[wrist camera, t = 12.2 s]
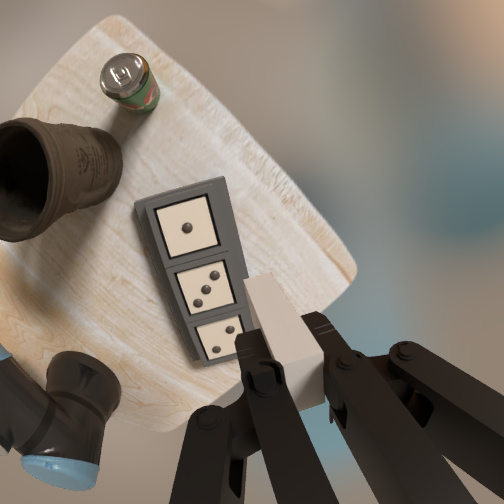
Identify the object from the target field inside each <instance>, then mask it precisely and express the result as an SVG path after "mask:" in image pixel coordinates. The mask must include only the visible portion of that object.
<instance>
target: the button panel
mask: <svg viewBox="0 0 504 504" xmlns="http://www.w3.org/2000/svg"><path fill="white" fill-rule="evenodd" d="M200 195H205V198H206V202H207V206H208V210H209V214H210V217H211V221H212V225H213V229H214V232H215V236H216V240H217V244H216V245H212V246H209V247H205V248H202V249H198V250H194V251H191V252H187V253H184V254H180V255H177V256H173V257H171V255H170V252H169V249H168V246H167V243H166V240H165V237H164V234H163V230H162V227H161V224H160V221H159V217H158V214H157V210H158V208H159V207H162V206H165V205H168V204H172V203H175V202H179V201H182V200H186V199H189V198H193V197H196V196H200ZM134 205H135V208H136V211H137V215H138V218H139V221H140V224H141V228H142V231H143V234H144V237H145V240H146V243H147V246H148V249H149V252H150V255H151V258H152V260H153V263H154V266H155V269H156V272H157V274H158V277H159V280H160V282H161V285H162V288H163V290H164V293H165V296H166V298H167V301H168V303H169V306H170V308H171V311H172V313H173V316H174V318H175V320H176V323H177V325H178V328H179V330H180V332H181V335H182V337H183V339H184V342H185V344H186V346H187V348H188V351H189V353H190V355H191V357H192V359H193V361H195V360H199V359H201V361H202V363H203V365H204V367H206V366H210V365H214V364H218V363H222V362H225V361H229V360H233V359H236V358H238V357H237V353H233V354H229V355H225V356H222V357H218V358H214V359H210V360H209V358H208V355H207V353H206V350H205V348H204V345H203V343H202V340H201V338H200V335H199V333H198V330H197V326H200V325H203V324H207V323H211V322H214V321H218V320H222V319H225V318H229V317H232V316H236V315H238V318H239V321H240V325H241V328H242V332H243V333H244V332H247V331H251V330H255V327H254V325H253V321H252V317H251V312H250V308H249V303H248V299H247V295H246V290H245V286H244V281H243V279H247V278H249V276H248V271H247V267H246V263H245V259H244V255H243V251H242V247H241V243H240V239H239V235H238V230H237V226H236V222H235V218H234V214H233V210H232V206H231V201H230V197H229V193H228V189H227V185H226V180H225V177H224V176H221V177H217V178H213V179H209V180H205V181H202V182H198V183H194V184H191V185H187V186H183V187H180V188H176V189H173V190H170V191H166V192H163V193H160V194H156V195H153V196H150V197H147V198H143V199H140V200H137V201H136V202H134ZM218 260H222V262H223V266H224V269H225V273H226V276H227V280H228V283H229V287H230V290H231V294H232V297H233V301H234V303H230V304H227V305H223V306H220V307H216V308H212V309H209V310H205V311H201V312H198V313H194V314H191V312H190V309H189V307H188V304H187V301H186V299H185V296H184V293H183V290H182V288H181V285H180V282H179V279H178V276H177V272H179V271H182V270H186V269H189V268H193V267H196V266H200V265H204V264H207V263H211V262H214V261H218Z"/></svg>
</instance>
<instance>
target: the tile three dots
mask: <svg viewBox="0 0 504 504" xmlns="http://www.w3.org/2000/svg"><path fill="white" fill-rule="evenodd" d="M177 276H178V279H179V282H180V285H181V288H182V290H183V293H184V296H185V299H186V301H187V304H188V307H189V309H190V312H191V314H194V313H198V312H201V311H205V310H209V309H212V308H216V307H220V306H223V305H227V304H230V303H234V301H233V297H232V294H231V290H230V287H229V283H228V280H227V276H226V273H225V269H224V266H223V262H222V260H218V261H214V262H211V263H207V264H204V265H200V266H196V267H193V268H189V269H186V270H182V271H179V272H177Z"/></svg>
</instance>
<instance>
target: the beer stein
mask: <svg viewBox="0 0 504 504" xmlns="http://www.w3.org/2000/svg"><path fill="white" fill-rule="evenodd" d="M122 168H123V160H122V154H121V150H120V148H119V146H118V144H117V142H116V141H115V139H114V138H113V137H112V136H111V135H110V134H109V133H107V132H105V131H103V130H101V129H98V128H91V127H81V126H77V125H73V124H62V123H61V124H50V123H45V122H42V121H39V120H37V119H33V118H17V119H14V120H9V121H7V122H4V123H1V124H0V240H3V241H7V242H13V243H14V242H20V241H24V240H27V239H31V238H34V237H36V236H38V235H40V234H41V233H43V232H44V231H45V230H46V229H47V228H48V227H49V226H50V225H51V224H52V223H54V222H55V221H56V220H57V219H59V218H60V217H61V216H63V215H64V214H66V213H70V212H74V211H75V210H77V209H82V208H87V207H89V206H93V205H97V204H99V203H100V202H102V201H104V200H105V199H107V198H108V197H109V196H110V195H111V194H112V193H113V192H114V190H115V189H116V187H117V185H118V183H119V181H120V178H121V175H122Z"/></svg>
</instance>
